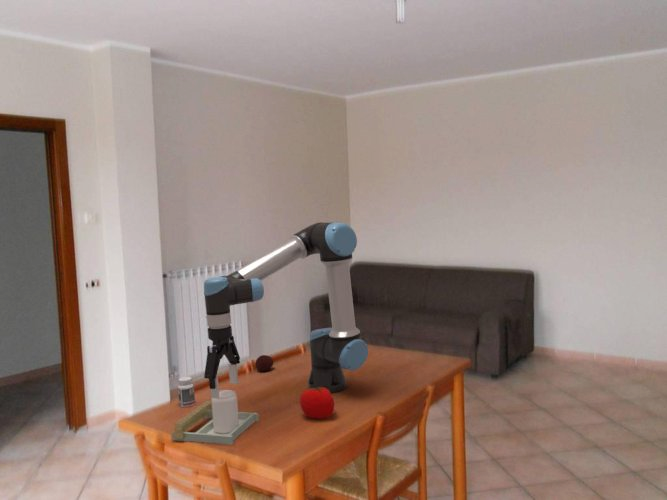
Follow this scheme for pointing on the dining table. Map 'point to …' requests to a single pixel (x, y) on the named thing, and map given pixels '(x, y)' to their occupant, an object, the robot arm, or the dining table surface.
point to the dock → (211, 436)
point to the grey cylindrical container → (225, 412)
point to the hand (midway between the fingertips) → (225, 390)
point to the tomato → (317, 403)
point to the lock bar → (191, 419)
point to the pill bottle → (186, 392)
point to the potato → (264, 363)
